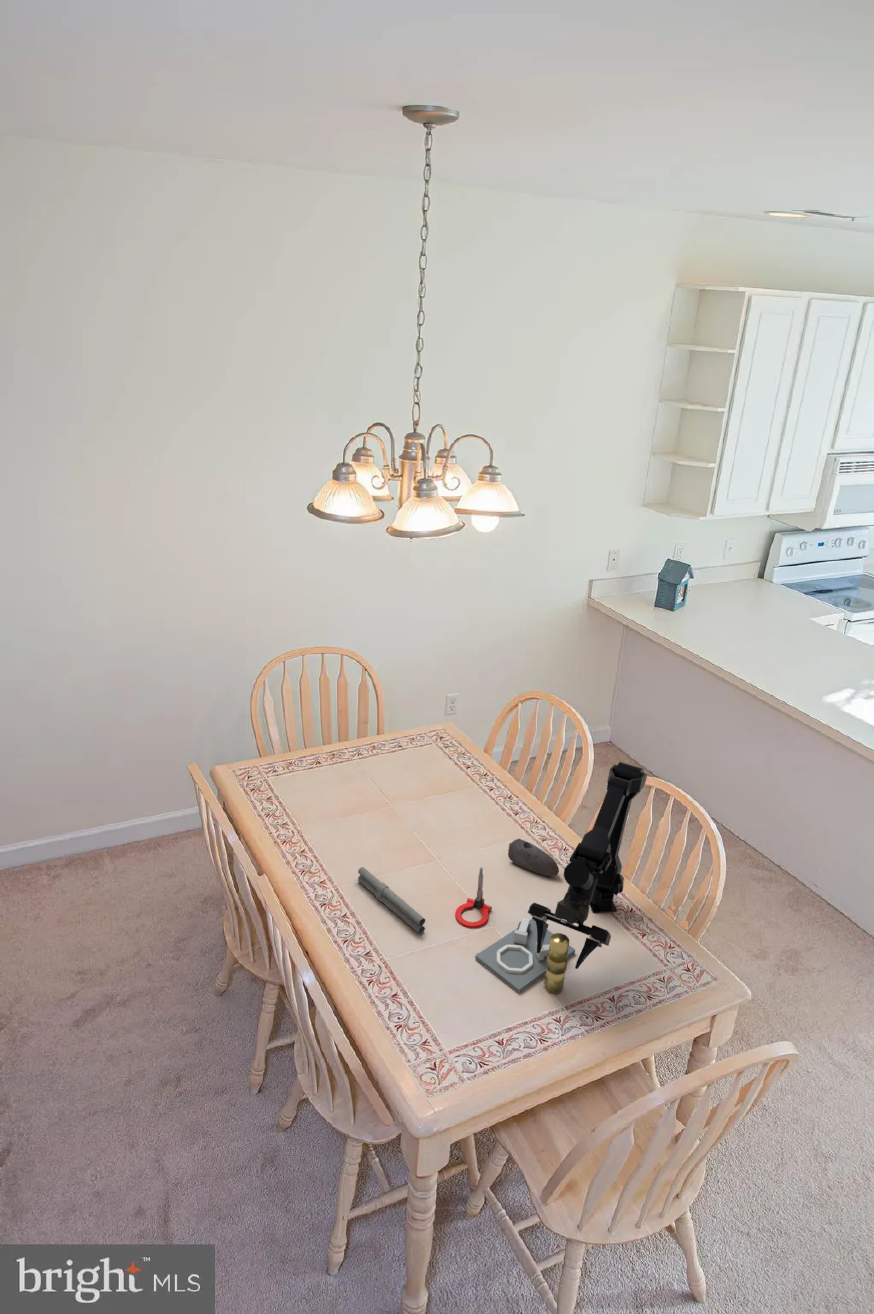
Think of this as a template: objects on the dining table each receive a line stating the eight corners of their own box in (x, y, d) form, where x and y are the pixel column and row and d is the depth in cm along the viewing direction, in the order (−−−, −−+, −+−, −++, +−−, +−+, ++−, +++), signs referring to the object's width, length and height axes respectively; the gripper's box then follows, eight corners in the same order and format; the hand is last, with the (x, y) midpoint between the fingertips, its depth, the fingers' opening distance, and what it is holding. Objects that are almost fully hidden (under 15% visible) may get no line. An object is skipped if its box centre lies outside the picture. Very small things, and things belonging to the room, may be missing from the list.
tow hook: (479, 934, 217) (495, 911, 224) (481, 893, 211) (497, 871, 218) (449, 922, 220) (465, 899, 227) (450, 882, 214) (467, 860, 222)
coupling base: (531, 922, 220) (533, 908, 219) (574, 953, 211) (576, 939, 209) (475, 959, 208) (476, 944, 206) (518, 993, 199) (520, 979, 197)
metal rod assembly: (425, 932, 216) (426, 916, 214) (417, 936, 214) (418, 920, 212) (364, 878, 233) (364, 863, 231) (355, 882, 232) (355, 867, 230)
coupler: (540, 980, 203) (546, 932, 197) (560, 978, 203) (567, 931, 198) (545, 996, 198) (552, 948, 193) (566, 994, 199) (573, 946, 193)
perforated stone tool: (562, 876, 238) (564, 855, 236) (552, 885, 234) (555, 864, 232) (515, 854, 246) (517, 833, 244) (505, 862, 242) (507, 842, 240)
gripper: (535, 873, 199) (510, 940, 194) (613, 902, 191) (590, 973, 187) (544, 883, 209) (521, 947, 204) (620, 911, 201) (598, 978, 196)
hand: (556, 960), depth 197 cm, fingers open, 9 cm apart
